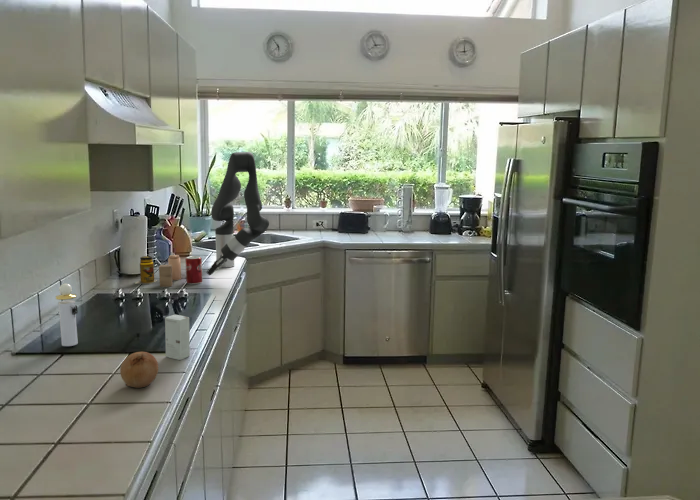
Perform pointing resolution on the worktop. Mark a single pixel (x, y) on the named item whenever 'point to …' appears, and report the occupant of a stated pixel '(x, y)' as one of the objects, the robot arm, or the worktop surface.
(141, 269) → the yellow coffee bottle can
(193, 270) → the soda can
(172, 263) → the tan rounded cylinder
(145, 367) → the onion
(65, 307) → the perfume bottle
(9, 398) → the worktop surface
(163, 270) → the block
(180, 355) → the skincare box
